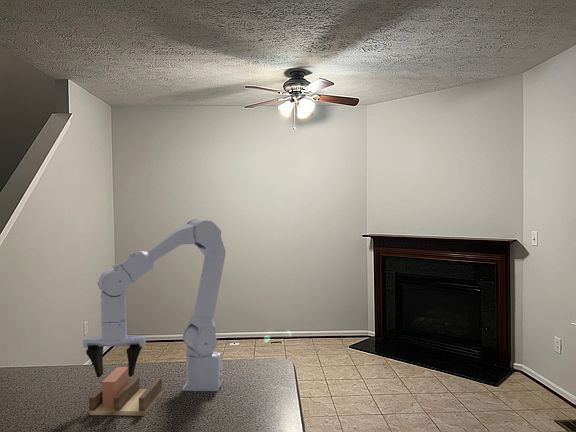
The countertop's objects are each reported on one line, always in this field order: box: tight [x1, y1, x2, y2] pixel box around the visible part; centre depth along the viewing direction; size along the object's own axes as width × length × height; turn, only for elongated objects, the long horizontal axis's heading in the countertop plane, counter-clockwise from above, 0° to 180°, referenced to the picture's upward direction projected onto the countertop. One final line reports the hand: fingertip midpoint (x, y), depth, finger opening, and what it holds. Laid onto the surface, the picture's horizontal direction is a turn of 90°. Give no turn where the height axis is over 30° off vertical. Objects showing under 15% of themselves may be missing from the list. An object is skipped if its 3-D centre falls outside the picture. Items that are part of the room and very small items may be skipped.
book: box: [101, 366, 130, 407], centre depth 118 cm, size 3×10×6 cm, turn 1°
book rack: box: [88, 376, 163, 417], centre depth 118 cm, size 13×13×4 cm
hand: (115, 375), depth 118 cm, fingers open, 7 cm apart
